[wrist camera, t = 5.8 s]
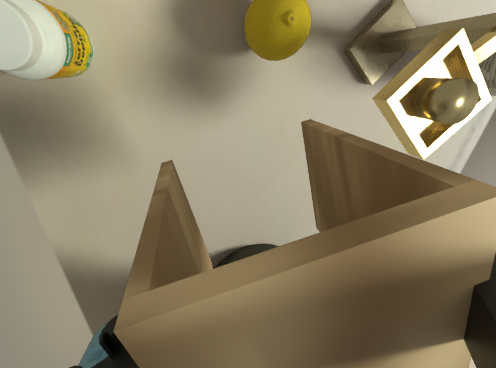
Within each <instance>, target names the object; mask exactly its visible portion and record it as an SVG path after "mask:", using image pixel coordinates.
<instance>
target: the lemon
mask: <svg viewBox="0 0 496 368" xmlns="http://www.w3.org/2000/svg"><path fill="white" fill-rule="evenodd" d="M310 25H311V13H310V9H309V5H308V3H307V1H306V0H253V1H252V3H251V4H250V6H249V8H248V11H247V13H246V17H245V23H244V28H245V36H246V40H247V42H248V44H249V46H250V48H251V49H252V50H253V51H254V52H255V53H256V54H257V55H258V56H260V57H261V58H264V59H267V60H273V61H278V60H282V59H286V58H288V57H290V56H291V55H293V54H295V53H296V52H297V51H298V50H299V49H300V48H301V47H302V45H303V44H304V42H305V40H306V39H307V37H308V34H309V31H310Z"/></svg>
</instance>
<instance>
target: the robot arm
mask: <svg viewBox="0 0 496 368" xmlns="http://www.w3.org/2000/svg"><path fill="white" fill-rule="evenodd" d="M276 247H279V246H275V245H254V246H250V247H246V248H243V249H240V250H238V251H236V252H234V253H232V254H231V255H229V256H228V257H226V258H225V259H224V260H223V261H221V262H220V263H219V264H218V266H217V267H216V268H218V267H220V266H223V265H226V264H229V263H232V262H235V261H238V260H241V259H244V258H247V257H250V256H253V255H256V254H259V253H262V252H264V251H267V250H270V249H273V248H276ZM117 317H118V315H117V316H115V317H114V318H113V319H111V320H110V321H109V322H108V323H106V324H104V325H103V326H102V327H101V328H100V329H99V330H98V331H97V332H96V333H95V335H94V336H93V338H92V340H91V342H90V343H89V345H88V347H87V349H86V351H85V353H84V355H83V357H82V359H81V361H80V363H79V365H78V366H72V367H70V368H139V367H138V365H137V364H136V363H135V361H134V360H133V358H132V357H131V356H130V354H129V353H128V351H127V350H126V349H125V347H124V346H123V344H122V343H121V342H120V340H119V339H118V337H117V336H116V335H115V333H114V332H113V331H114V328H115V324H116V321H117ZM463 339H464V341H465V344H466V346H467V348H468V350H469V352H470V354H471V357H472V359H473V361H474V363H475V365H476V367H477V368H496V253H495V257H494V262H493V266H492V270H491V274H490V279H489V280H487V281H484V282H482V283H479V284H476V285H474V289H473V294H472V299H471V304H470V309H469V314H468V319H467V324H466V329H465V334H464V338H463Z"/></svg>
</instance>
